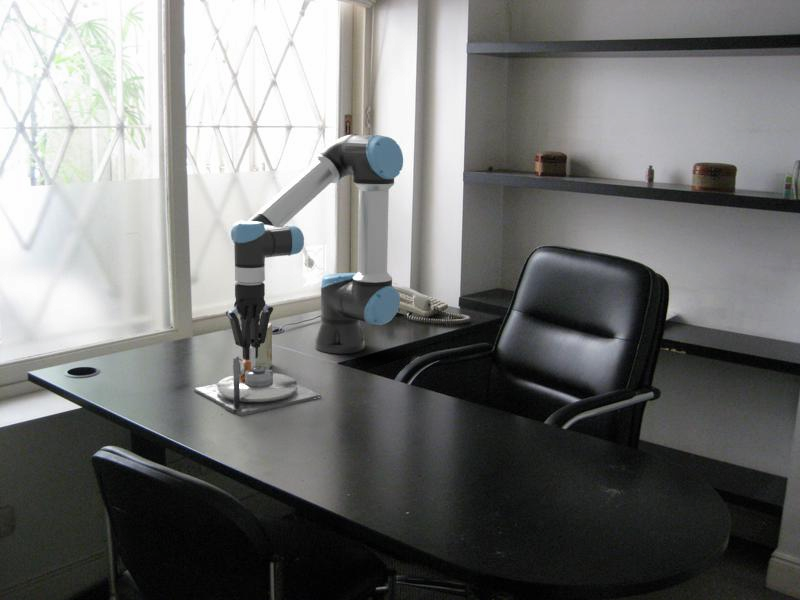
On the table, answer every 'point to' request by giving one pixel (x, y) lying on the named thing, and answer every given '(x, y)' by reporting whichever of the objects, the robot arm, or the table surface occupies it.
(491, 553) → the table surface
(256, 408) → the turntable base
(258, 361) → the skincare box
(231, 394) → the platter
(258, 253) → the robot arm
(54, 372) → the table surface
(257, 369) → the cover
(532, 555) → the table surface
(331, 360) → the table surface
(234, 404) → the post
